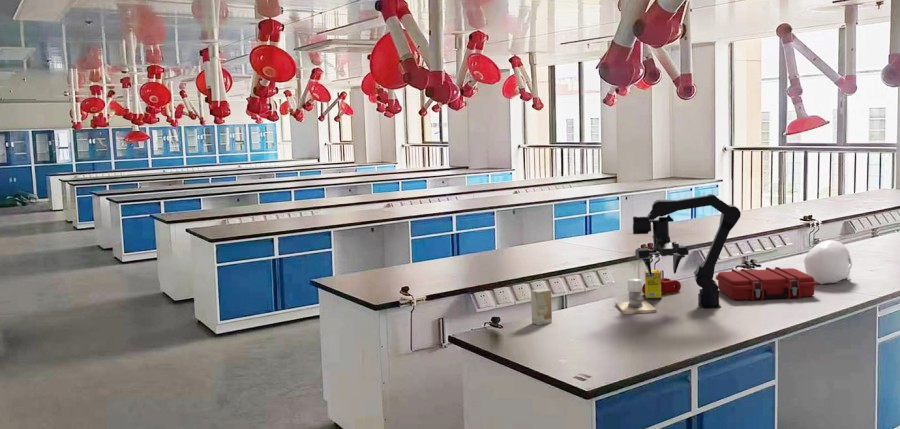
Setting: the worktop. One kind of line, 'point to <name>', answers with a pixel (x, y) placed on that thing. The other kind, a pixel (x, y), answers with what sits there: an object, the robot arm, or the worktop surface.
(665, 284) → the mechanical linkage
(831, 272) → the lumpy white sphere
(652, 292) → the supplement box
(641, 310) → the beige square board
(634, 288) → the cap
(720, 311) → the worktop surface
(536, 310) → the skincare box
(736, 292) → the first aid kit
